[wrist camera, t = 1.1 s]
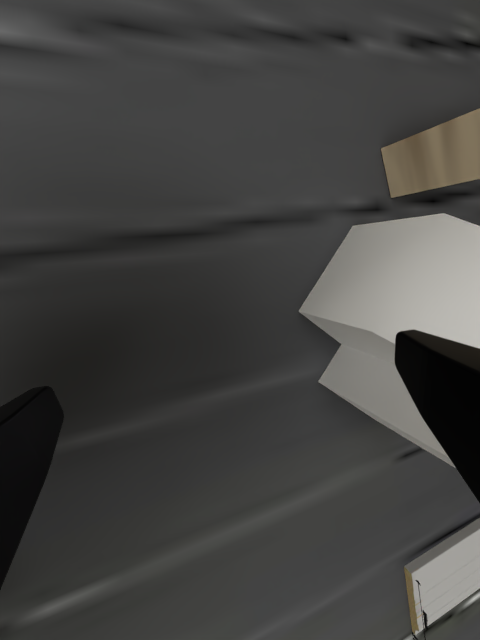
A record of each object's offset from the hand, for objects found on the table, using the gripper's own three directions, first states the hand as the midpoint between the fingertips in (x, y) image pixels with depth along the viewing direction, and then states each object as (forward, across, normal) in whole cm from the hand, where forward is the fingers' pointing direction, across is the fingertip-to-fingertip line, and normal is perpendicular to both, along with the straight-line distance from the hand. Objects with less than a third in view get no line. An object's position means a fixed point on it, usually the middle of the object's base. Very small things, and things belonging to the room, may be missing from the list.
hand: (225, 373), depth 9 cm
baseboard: (+16, -26, +37) cm, 48 cm away
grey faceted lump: (+16, -10, +8) cm, 20 cm away
